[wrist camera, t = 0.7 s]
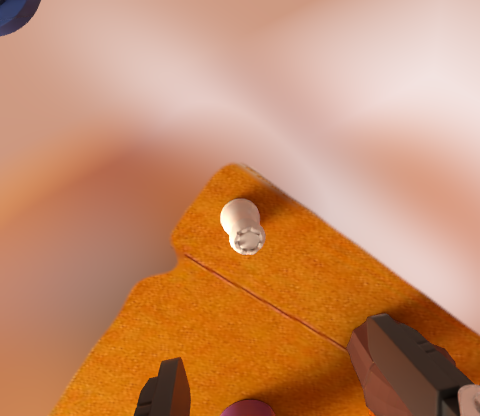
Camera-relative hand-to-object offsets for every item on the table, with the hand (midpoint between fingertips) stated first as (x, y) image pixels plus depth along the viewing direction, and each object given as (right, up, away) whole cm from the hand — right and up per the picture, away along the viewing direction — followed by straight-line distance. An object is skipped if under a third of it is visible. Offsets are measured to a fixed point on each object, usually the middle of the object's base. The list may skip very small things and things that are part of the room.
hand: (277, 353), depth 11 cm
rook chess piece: (-2, +5, +20) cm, 21 cm away
